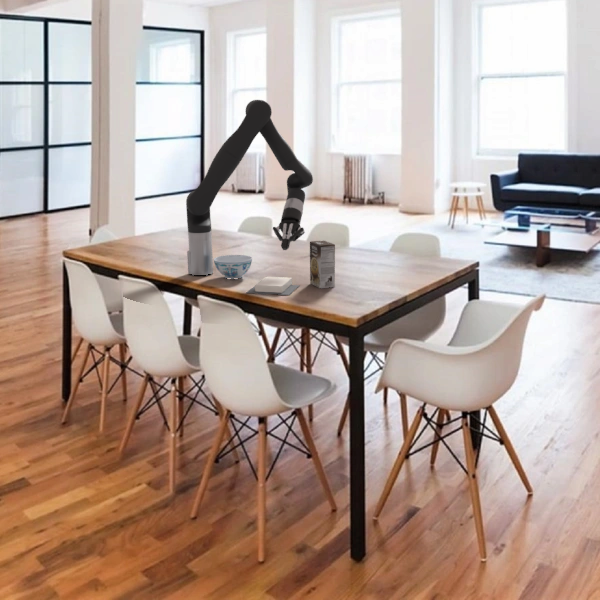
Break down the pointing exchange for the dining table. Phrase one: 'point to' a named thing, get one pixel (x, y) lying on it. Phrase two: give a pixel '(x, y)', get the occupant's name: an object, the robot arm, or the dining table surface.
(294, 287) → the rubber mat
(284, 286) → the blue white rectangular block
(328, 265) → the coffee box
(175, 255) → the dining table surface
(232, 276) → the chinaware
